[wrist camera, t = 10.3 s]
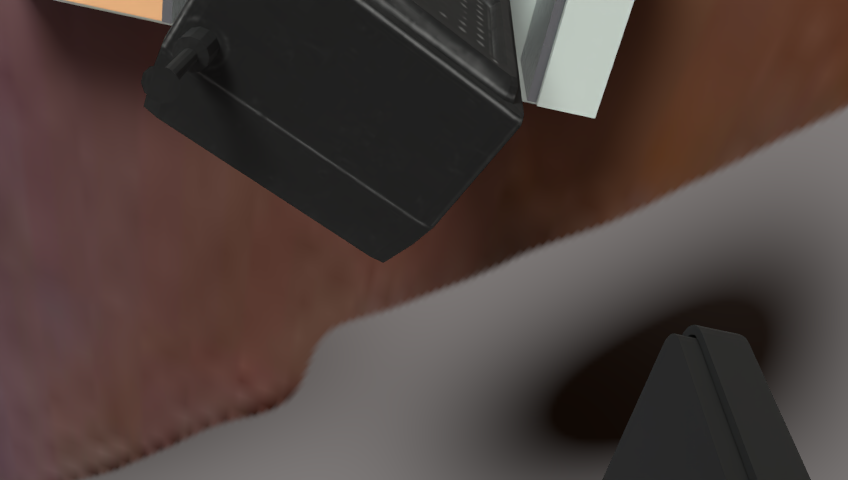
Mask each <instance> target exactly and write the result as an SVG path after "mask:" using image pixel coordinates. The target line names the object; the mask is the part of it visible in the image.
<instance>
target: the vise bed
mask: <svg viewBox="0 0 848 480" xmlns="http://www.w3.org/2000/svg"><path fill="white" fill-rule="evenodd" d="M55 1H59V2H64V3H69V4H73V5H78V6H82V7H87V8H92V9H96V10H101V11H106V12H110V13H115V14H120V15H124V16H129V17H134V18H138V19H143V20H147V21H152V22H157V23H161V24H166V25H171V26H172V24H173V23H174V22H173V23H172V24H169V23H165V22H162V21H159V20H154V19H150V18H145V17H141V16H136V15H131V14H127V13H122V12H117V11H113V10H108V9H104V8H99V7H94V6H90V5H85V4H80V3H76V2H71V1H66V0H55ZM633 3H634V0H510V5H511V13H512V21H513V30H514V38H515V46H516V54H517V62H518V70H519V79H520V87H521V95H522V101H523V102H528V103H532V104H537V106H539V107H544V108H548V109H553V110H557V111H562V112H567V113H571V114H576V115H581V116H585V117H590V118H595V117H596V114H597V111H598V108H599V105H600V102H601V99H602V96H603V93H604V90H605V87H606V84H607V81H608V78H609V75H610V72H611V69H612V66H613V63H614V60H615V57H616V54H617V51H618V48H619V45H620V42H621V39H622V36H623V33H624V30H625V27H626V24H627V21H628V18H629V15H630V12H631V9H632V6H633Z"/></svg>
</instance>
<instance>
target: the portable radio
mask: <svg viewBox="0 0 848 480" xmlns="http://www.w3.org/2000/svg"><path fill="white" fill-rule="evenodd" d="M141 83H142V86H143V89H144V92H145V93H146V94H147V95H146V99H145V103H144V107H145V108H146V109H148V110H149V111H150V112H151V113H152V114H153V115H155V116H156V117H157V118H159V119H160V120H162V121H163V122H165V123H166V124H168V125H169V126H171V127H172V128H174V129H175V130H177V131H178V132H180V133H182V134H183V135H185V136H186V137H188V138H189V139H191V140H192V141H194V142H195V143H197V144H198V145H200V146H201V147H203V148H205V149H206V150H208V151H209V152H211V153H212V154H214V155H215V156H217V157H218V158H220V159H221V160H223V161H225V162H226V163H228V164H229V165H231V166H232V167H234V168H235V169H237V170H238V171H240V172H241V173H243V174H244V175H246V176H248V177H249V178H251V179H252V180H254V181H255V182H257V183H258V184H260V185H261V186H263V187H264V188H266V189H268V190H269V191H271V192H272V193H274V194H275V195H277V196H278V197H280V198H281V199H283V200H284V201H286V202H287V203H289V204H290V205H292V206H294V207H295V208H297V209H298V210H300V211H301V212H303V213H304V214H306V215H307V216H309V217H310V218H312V219H313V220H315V221H317V222H318V223H320V224H321V225H323V226H324V227H326V228H327V229H329V230H330V231H332V232H333V233H335V234H336V235H338V236H340V237H341V238H343V239H344V240H346V241H347V242H349V243H350V244H352V245H353V246H355V247H356V248H358V249H359V250H361V251H363V252H364V253H366V254H367V255H369V256H370V257H372V258H374V259H377V260H379V261H381V262H383V263H384V262H385V261H387V260H388V259H390V258H392V257H393V256H395V255H396V254H398V253H400V252H401V251H403V250H404V249H406V248H408V247H409V246H411V245H412V244H414V243H415V242H416V241H417V240H419V239H420V238H421V237H422V236H423V235H425V234H426V233H427V232H428V231H430V230H431V229H432V228H433V227H434V226H435V225H436V224H437V223H438V222H439V220H440V219H441V218H442V217H443V216H444V215H445V213H446V212H447V211H448V210H449V209H450V208H451V206H452V205H453V204H454V203H455V202H456V201H457V200H458V198H459V197H460V196H461V195H462V194H463V193H464V191H465V190H466V189H467V188H468V187H469V186H470V184H471V183H472V182H473V181H474V180H475V179H476V177H477V176H478V175H479V174H480V173H481V172H482V171H483V169H484V168H485V167H486V166H487V165H488V164H489V162H490V161H491V160H492V159H493V158H494V157H495V155H496V154H497V153H498V152H499V151H500V150H501V148H502V147H503V146H504V145H505V144H506V143H507V142H508V140H509V139H510V138H511V137H512V136H513V135H514V133H515V132H516V131H517V130H518V129H519V128H520V126H521V124H522V121H523V117H524V111H523V103H522V95H521V87H520V79H519V70H518V62H517V54H516V46H515V38H514V30H513V21H512V13H511V5H510V0H187V1H186V3H185V4H184V6H183V8H182V9H181V11H180V13H179V14H178V16H177V18H176V19H175V21H174V23H173V24H172V26H171V28H170V29H169V31H168V33H167V34H166V36H165V38H164V41H163V43H162V46H161V49H160V51H159V54H158V57H157V59H156V62H155V65H154V66H151V67H149V68H148V69H147V70H146V71H145V72H144V73H143V76H142V80H141Z"/></svg>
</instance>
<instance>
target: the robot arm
mask: <svg viewBox="0 0 848 480" xmlns="http://www.w3.org/2000/svg"><path fill="white" fill-rule="evenodd" d="M603 480H811V479H810V477H809V475H808V473H807V471H806V468H805V466H804V464H803V461H802V459H801V457H800V455H799V453H798V450H797V448H796V446H795V444H794V442H793V439H792V437H791V435H790V433H789V431H788V428H787V426H786V424H785V422H784V420H783V417H782V415H781V413H780V411H779V409H778V407H777V404H776V402H775V400H774V398H773V395H772V393H771V391H770V389H769V387H768V384H767V382H766V380H765V378H764V375H763V373H762V371H761V369H760V367H759V365H758V362H757V360H756V358H755V356H754V353H753V351H752V349H751V347H750V345H749V342H748V341H747V339H746V338H745V337H744V336H742V335H740V334H735V333H730V332H726V331H721V330H716V329H712V328H707V327H702V326H697V325H692V326H689V327H688V328H687V329H686V330H685V331H684V333H683V334H682V335H678V334H671V335H669V337H668V338H667V339H666V341H665V342H664V344H663V346H662V349H661V351H660V354H659V355H658V358H657V360H656V362H655V364H654V366H653V369H652V371H651V373H650V376H649V378H648V380H647V382H646V384H645V386H644V389H643V391H642V393H641V395H640V398H639V400H638V402H637V404H636V407H635V409H634V411H633V413H632V415H631V418H630V420H629V422H628V424H627V426H626V429H625V431H624V433H623V435H622V438H621V440H620V442H619V444H618V447H617V449H616V451H615V453H614V455H613V457H612V460H611V462H610V464H609V466H608V469H607V471H606V473H605V475H604V478H603Z"/></svg>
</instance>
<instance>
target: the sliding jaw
mask: <svg viewBox="0 0 848 480" xmlns="http://www.w3.org/2000/svg"><path fill="white" fill-rule="evenodd" d="M66 1H71V2H76V3H80V4H85V5H90V6H94V7H99V8H104V9H108V10H113V11H117V12H122V13H127V14H131V15H136V16H141V17H145V18H150V19H154V20H159V21H162V22H165V23H169V24H172V23H173V22H174V21H175V19H176V18H177V16H178V14H179V13H180V11H181V9H182V8H183V6H184V4H185V3H186V1H187V0H66Z"/></svg>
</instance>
